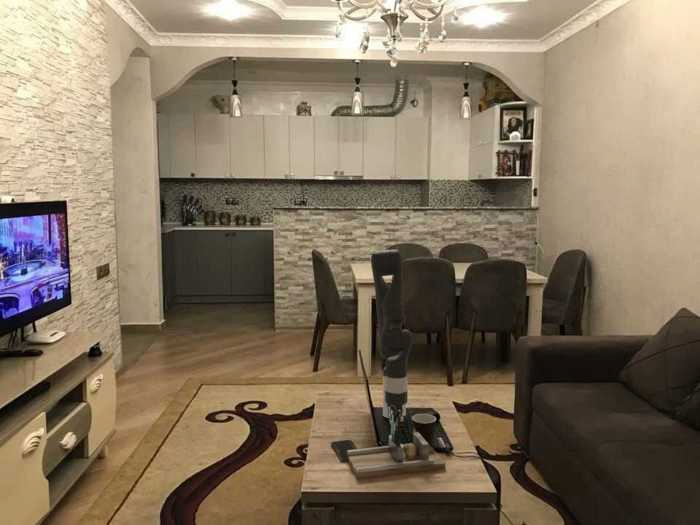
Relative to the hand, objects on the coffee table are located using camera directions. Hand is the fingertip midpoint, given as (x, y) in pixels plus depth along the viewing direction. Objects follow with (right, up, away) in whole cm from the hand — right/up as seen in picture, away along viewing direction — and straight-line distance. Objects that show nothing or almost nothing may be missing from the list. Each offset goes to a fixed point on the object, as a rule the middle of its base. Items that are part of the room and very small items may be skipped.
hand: (396, 437), depth 200 cm
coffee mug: (+11, -7, +17) cm, 22 cm away
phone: (-17, -9, +11) cm, 22 cm away
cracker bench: (0, -9, +1) cm, 9 cm away
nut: (+5, -7, +2) cm, 9 cm away
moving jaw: (0, -7, +1) cm, 7 cm away
